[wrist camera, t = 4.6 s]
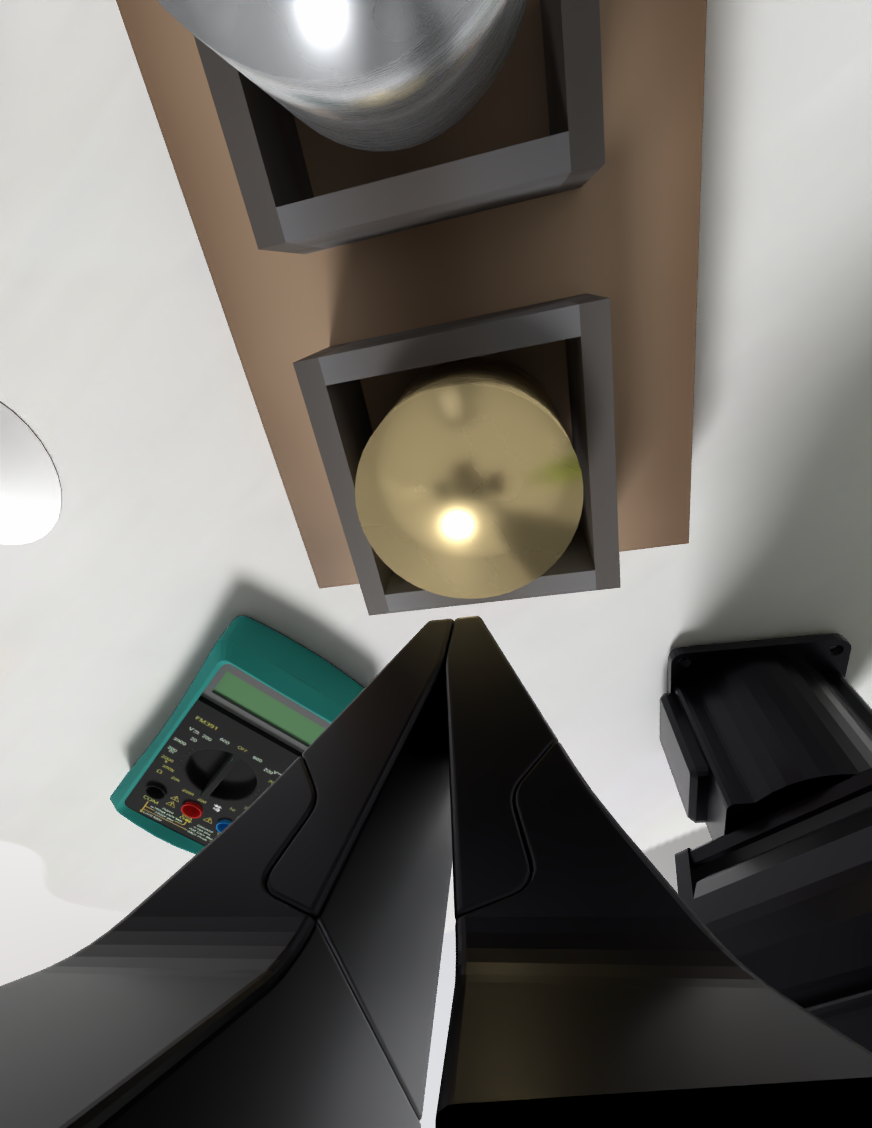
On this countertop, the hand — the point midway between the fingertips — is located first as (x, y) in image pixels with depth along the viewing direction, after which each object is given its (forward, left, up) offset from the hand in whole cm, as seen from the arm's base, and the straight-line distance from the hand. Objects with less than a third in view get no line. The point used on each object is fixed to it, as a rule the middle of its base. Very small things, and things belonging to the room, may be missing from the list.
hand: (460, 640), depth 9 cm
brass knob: (0, -1, -8) cm, 8 cm away
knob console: (0, -5, -11) cm, 12 cm away
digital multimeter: (+14, +13, -12) cm, 22 cm away
